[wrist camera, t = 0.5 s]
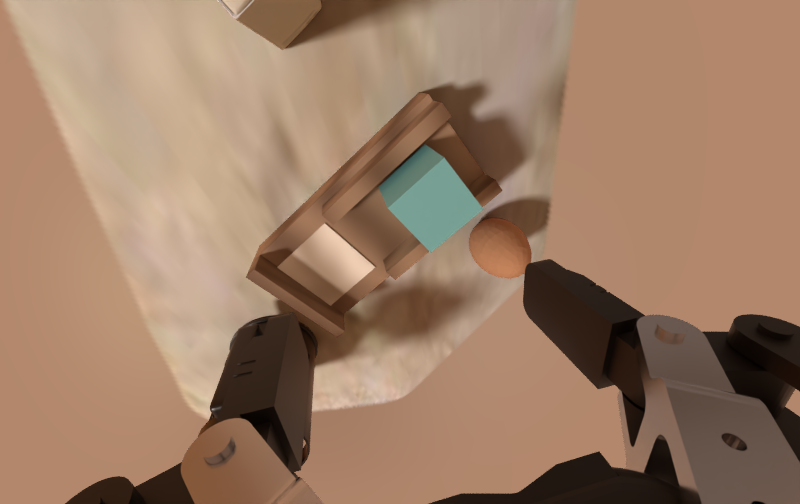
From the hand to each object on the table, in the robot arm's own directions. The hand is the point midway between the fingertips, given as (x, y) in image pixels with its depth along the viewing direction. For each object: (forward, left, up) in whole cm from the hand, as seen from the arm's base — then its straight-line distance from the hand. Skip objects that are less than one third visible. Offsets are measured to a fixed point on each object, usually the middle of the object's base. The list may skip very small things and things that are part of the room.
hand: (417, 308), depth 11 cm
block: (-3, +4, -17) cm, 17 cm away
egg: (-5, +14, -21) cm, 25 cm away
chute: (+2, +4, -20) cm, 21 cm away
